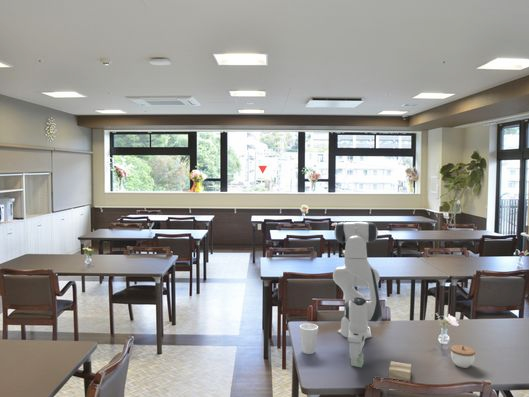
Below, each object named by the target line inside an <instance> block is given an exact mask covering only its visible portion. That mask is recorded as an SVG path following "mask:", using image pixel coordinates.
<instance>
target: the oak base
mask: <svg viewBox="0 0 529 397" xmlns="http://www.w3.org/2000/svg"><path fill="white" fill-rule="evenodd" d="M411 376H412V364H411V363H405V362H399V361H398V362H397V361H392V360H391V361H390V364H389V366H388V379H394V380H399V381H405V382H411Z"/></svg>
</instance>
